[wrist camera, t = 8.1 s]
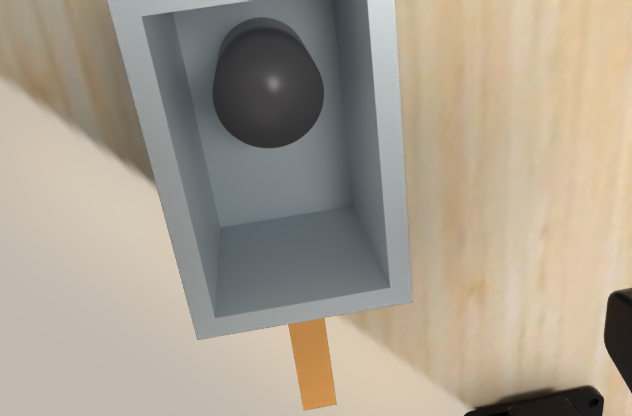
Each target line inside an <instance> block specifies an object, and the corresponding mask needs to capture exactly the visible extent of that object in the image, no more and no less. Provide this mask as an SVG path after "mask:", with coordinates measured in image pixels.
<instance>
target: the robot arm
mask: <svg viewBox="0 0 632 416" xmlns="http://www.w3.org/2000/svg"><path fill="white" fill-rule="evenodd" d="M604 342H605V346H606V349H607V351H608V353H609V355H610V357H611V359H612V360H613V362H614V364H615V365H616V367H617V369H618V371H619V372H620V374H621V376H622V377H623V379H624V381H625V382H626V384H627V386H628V388H629V389H630V391H631V393H632V288H628V289H623V290H618V291H614V292H613V293H611V294H610V296H609V298H608V302H607V311H606V320H605V329H604ZM603 404H604V398H603V396H602V395H601V394H600V393H599V391H598V390H597V389H594V388H588V389H583V390H578V391H573V392H567V393H562V394H557V395H552V396H547V397H541V398H536V399H531V400H526V401H521V402H515V403H510V404H505V405H500V406H495V407H489V408H484V409H479V410H474V411H470V412H468V413H466V414H465V415H464V416H602V413H603Z"/></svg>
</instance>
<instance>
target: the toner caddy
mask: <svg viewBox="0 0 632 416" xmlns="http://www.w3.org/2000/svg"><path fill="white" fill-rule="evenodd" d="M107 2H108V6H109V9H110V13H111V17H112V21H113V24H114V28H115V32H116V36H117V39H118V43H119V47H120V51H121V54H122V58H123V62H124V66H125V69H126V73H127V77H128V81H129V85H130V88H131V92H132V96H133V100H134V103H135V107H136V111H137V115H138V118H139V122H140V126H141V130H142V133H143V137H144V141H145V145H146V148H147V152H148V156H149V160H150V163H151V167H152V171H153V175H154V179H155V182H156V186H157V190H158V194H159V197H160V201H161V205H162V209H163V212H164V216H165V220H166V223H167V227H168V231H169V235H170V238H171V242H172V246H173V250H174V254H175V258H176V261H177V265H178V268H179V272H180V276H181V280H182V284H183V288H184V291H185V295H186V299H187V303H188V306H189V310H190V314H191V317H192V321H193V325H194V329H195V333H196V336H197V340H201V339H207V338H212V337H218V336H223V335H229V334H235V333H240V332H246V331H252V330H258V329H263V328H269V327H274V326H280V325H286V324H288V325H289V330H290V336H291V341H292V347H293V353H294V359H295V364H296V370H297V376H298V381H299V387H300V393H301V398H302V404H303V409H304V410H310V409H315V408H320V407H325V406H331V405H336V397H335V389H334V383H333V375H332V368H331V362H330V355H329V347H328V340H327V334H326V327H325V320H324V318H326V317H331V316H337V315H343V314H348V313H354V312H360V311H365V310H371V309H377V308H382V307H388V306H394V305H399V304H405V303H411V302H413V296H412V280H411V263H410V247H409V230H408V213H407V197H406V180H405V164H404V147H403V130H402V114H401V97H400V80H399V64H398V47H397V31H396V14H395V0H107ZM258 17H267V18H272V19H276V20H279V21H281V22H283V23H285V24H286V25H288V26H289V27H290V28H292V29H293V30H294V31H295V32H296V33H297V34H298V36H299V37H300V39H301V40H302V42H303V44H304V45H305V47H306V49H307V51H308V52H309V54H310V56H311V57H312V59H313V61H314V62H315V64H316V66H317V68H318V70H319V72H320V75H321V77H322V81H323V86H324V101H323V107H322V110H321V113H320V115H319V117H318V119H317V121H316V123H315V124H314V126H313V127H312V128H311V129H310V131H309V132H308V133H307V134H305V135H304V136H303V137H302V138H300V139H299V140H297V141H295V142H294V143H292V144H289V145H286V146H283V147H279V148H259V147H254V146H251V145H248V144H246V143H243V142H242V141H240V140H238V139H237V138H235V137H234V136H233V135H231V134H230V133H229V132H228V131H227V130H226V128H225V127H224V126H223V125H222V123H221V121H220V120H219V118H218V116H217V114H216V111H215V108H214V103H213V93H212V90H213V82H214V77H215V71H216V66H217V60H218V55H219V50H220V47H221V44H222V42H223V40H224V38H225V37H226V35H227V34H228V33H229V32H230V31H231V30H232V29H233V28H234V27H235V26H237V25H238V24H240V23H241V22H243V21H246V20H248V19H252V18H258Z"/></svg>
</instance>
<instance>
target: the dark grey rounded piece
mask: <svg viewBox="0 0 632 416" xmlns="http://www.w3.org/2000/svg"><path fill="white" fill-rule="evenodd" d="M212 93H213V103H214V108H215V111H216V114H217V116H218V118H219V120H220V121H221V123H222V125H223V126H224V127H225V128H226V130H227V131H228V132H229V133H230V134H231V135H233V136H234V137H235V138H237V139H238V140H240V141H242V142H243V143H246V144H248V145H251V146H254V147H259V148H279V147H283V146H286V145H289V144H292V143H294V142H295V141H297V140H299V139H300V138H302V137H303V136H304V135H305V134H307V133H308V132H309V131H310V129H311V128H312V127H313V126H314V124H315V123H316V121H317V119H318V117H319V115H320V113H321V110H322V107H323V101H324V86H323V81H322V77H321V75H320V72H319V70H318V68H317V66H316V64H315V62H314V61H313V59H312V57H311V56H310V54H309V52H308V51H307V49H306V47H305V45H304V44H303V42H302V40H301V39H300V37H299V36H298V34H297V33H296V32H295V31H294V30H293V29H292V28H290V27H289V26H288V25H286V24H285V23H283V22H281V21H279V20H276V19H272V18H267V17H258V18H252V19H248V20H246V21H243V22H241V23H240V24H238V25H237V26H235V27H234V28H233V29H232V30H231V31H230V32H229V33H228V34H227V35H226V37H225V38H224V40H223V42H222V44H221V47H220V50H219V55H218V60H217V66H216V71H215V77H214V82H213V90H212Z"/></svg>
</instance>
